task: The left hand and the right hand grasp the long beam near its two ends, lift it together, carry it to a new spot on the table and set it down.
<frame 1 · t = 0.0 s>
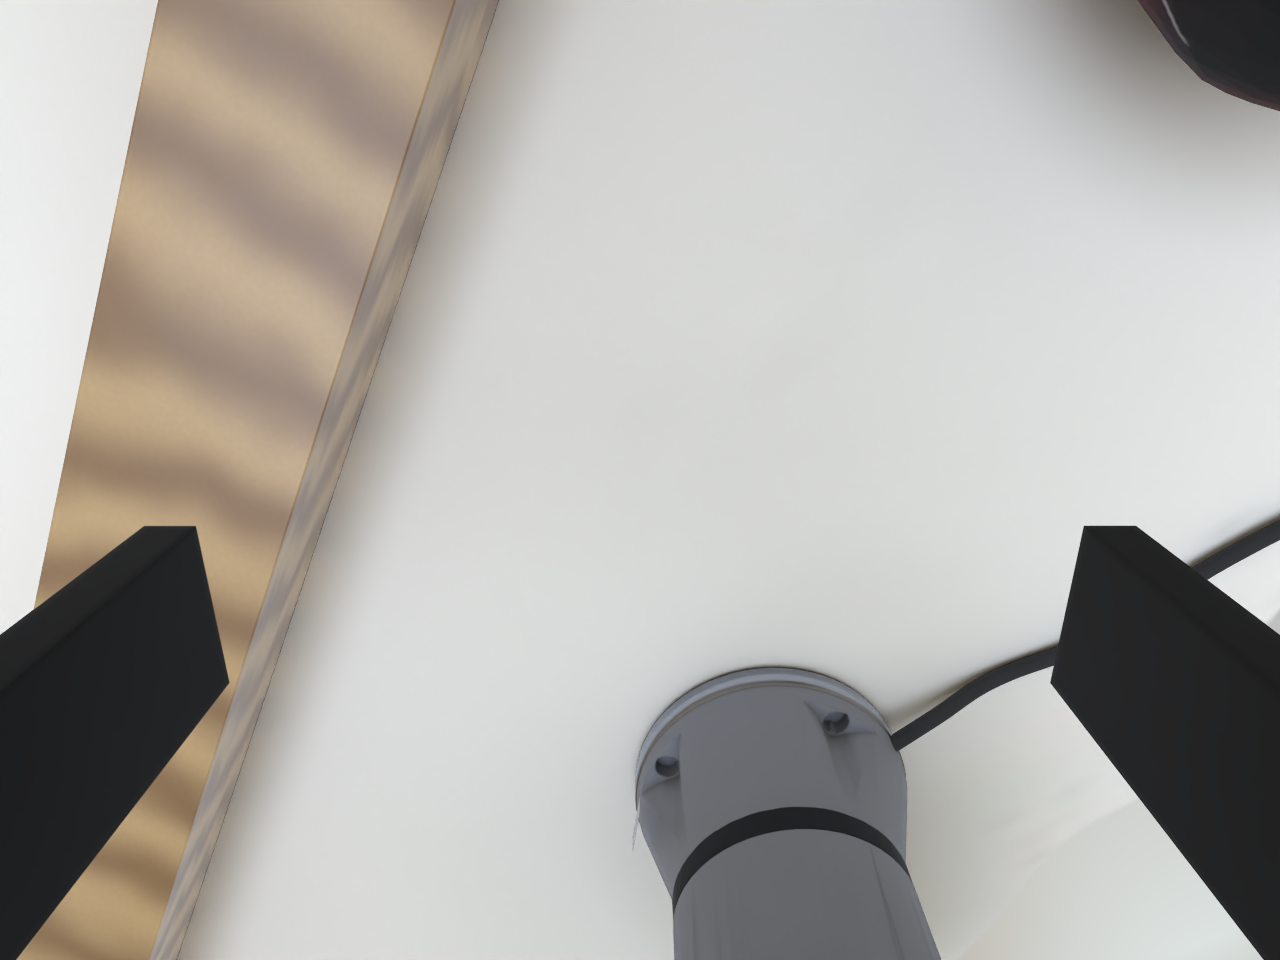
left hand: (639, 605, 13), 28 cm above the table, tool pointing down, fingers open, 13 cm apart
long beam: (225, 521, 43), on the table
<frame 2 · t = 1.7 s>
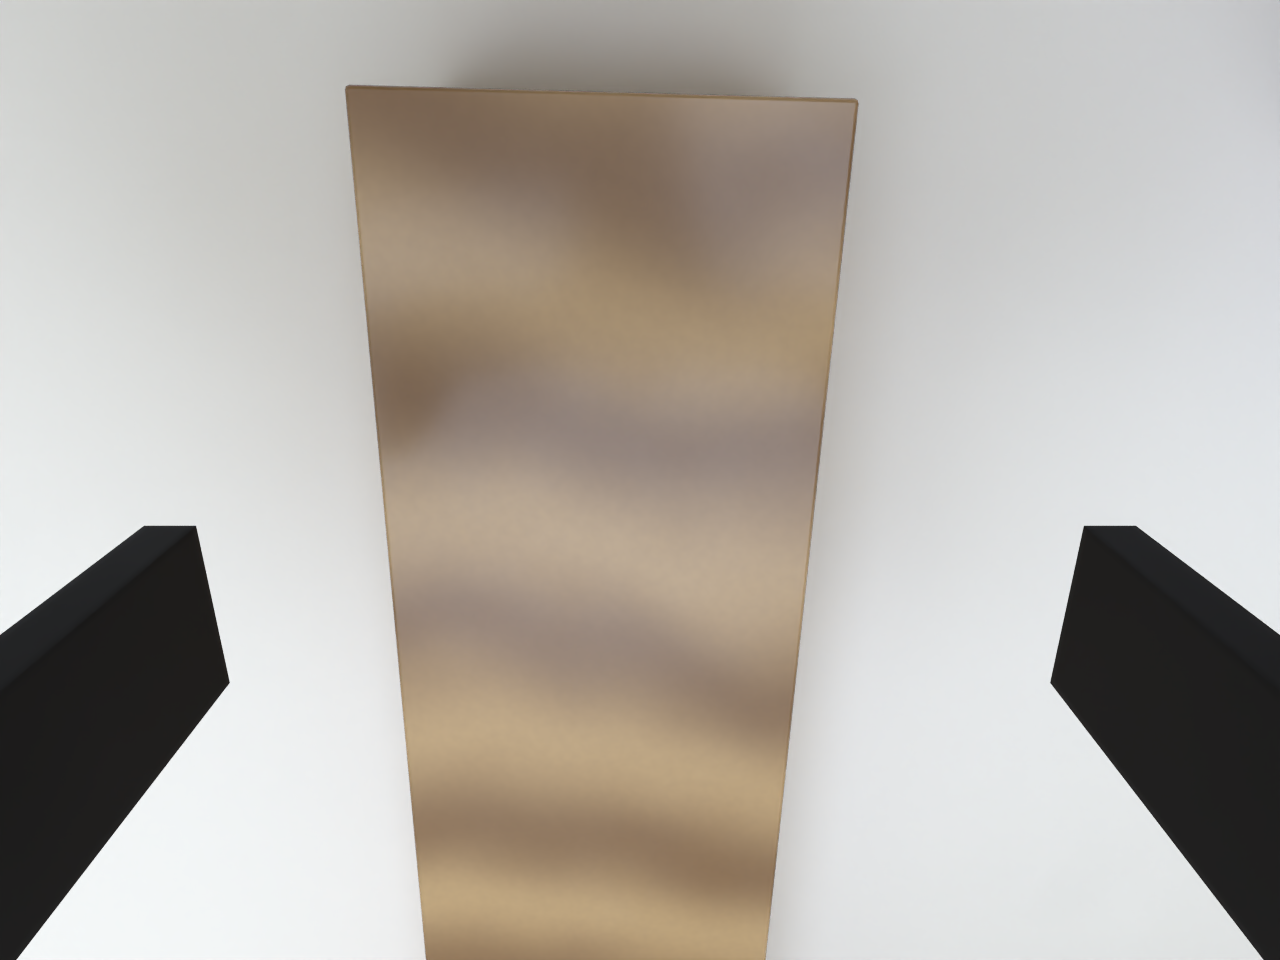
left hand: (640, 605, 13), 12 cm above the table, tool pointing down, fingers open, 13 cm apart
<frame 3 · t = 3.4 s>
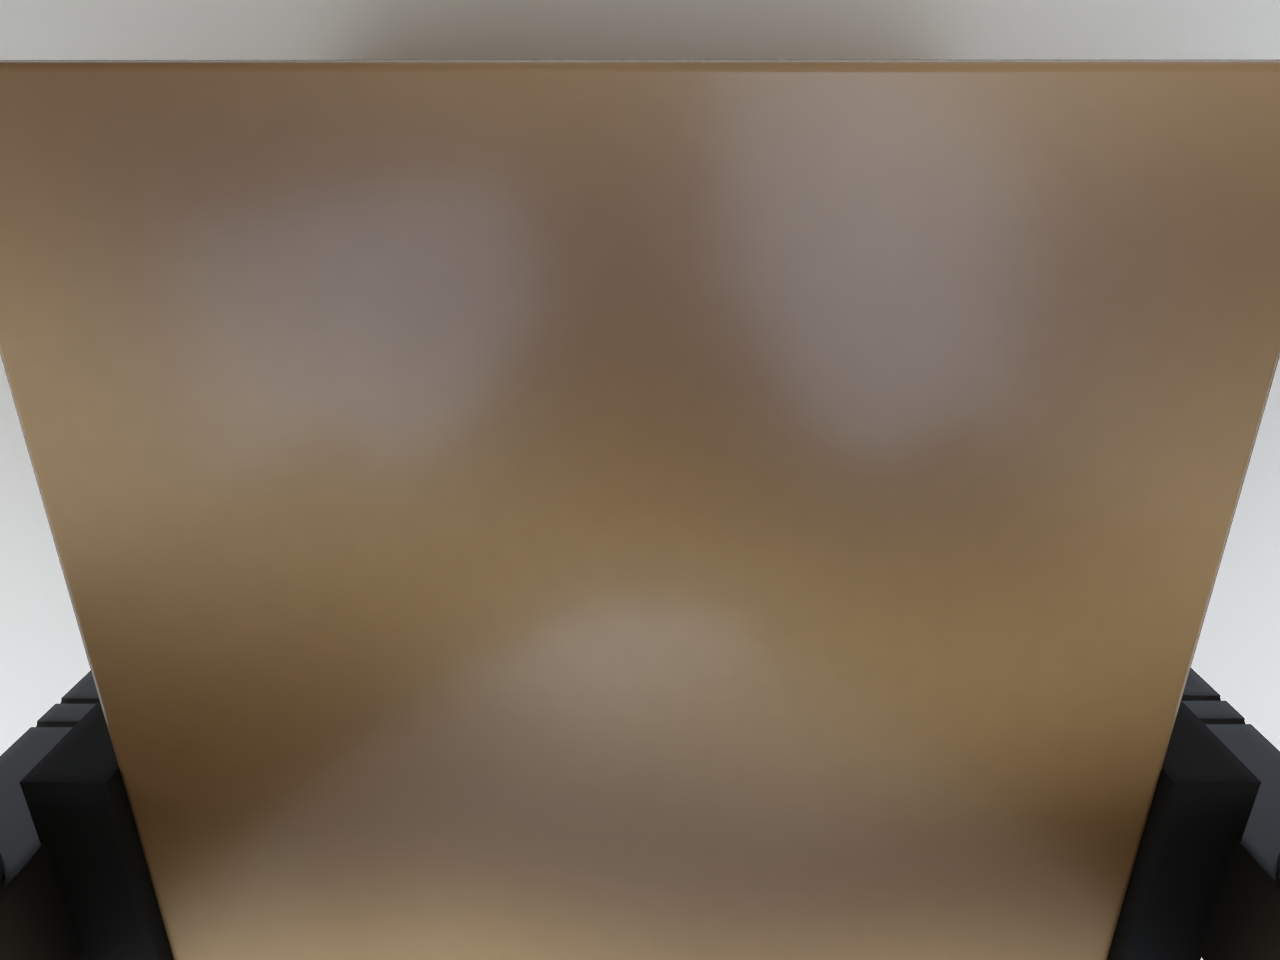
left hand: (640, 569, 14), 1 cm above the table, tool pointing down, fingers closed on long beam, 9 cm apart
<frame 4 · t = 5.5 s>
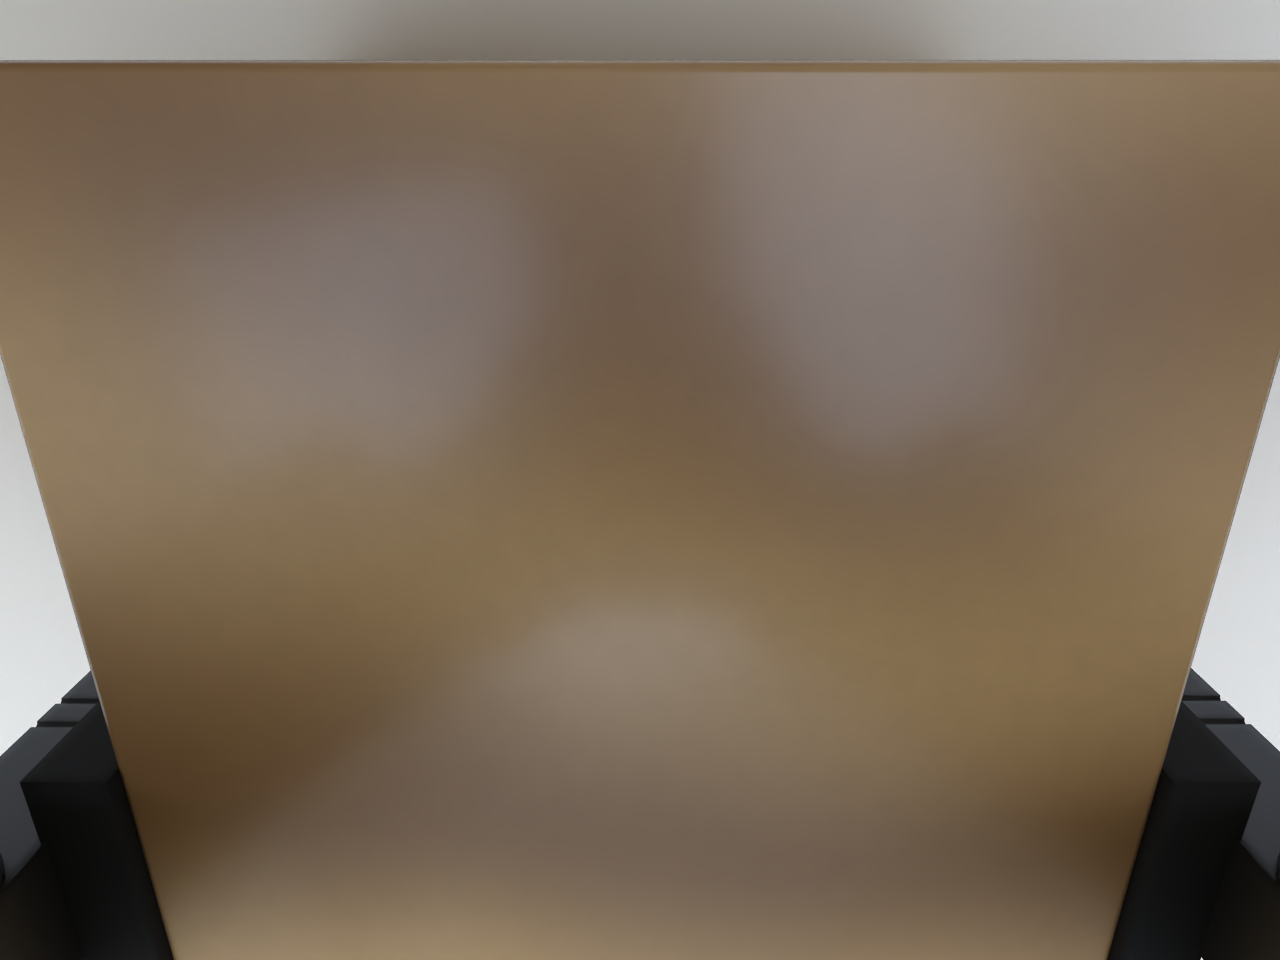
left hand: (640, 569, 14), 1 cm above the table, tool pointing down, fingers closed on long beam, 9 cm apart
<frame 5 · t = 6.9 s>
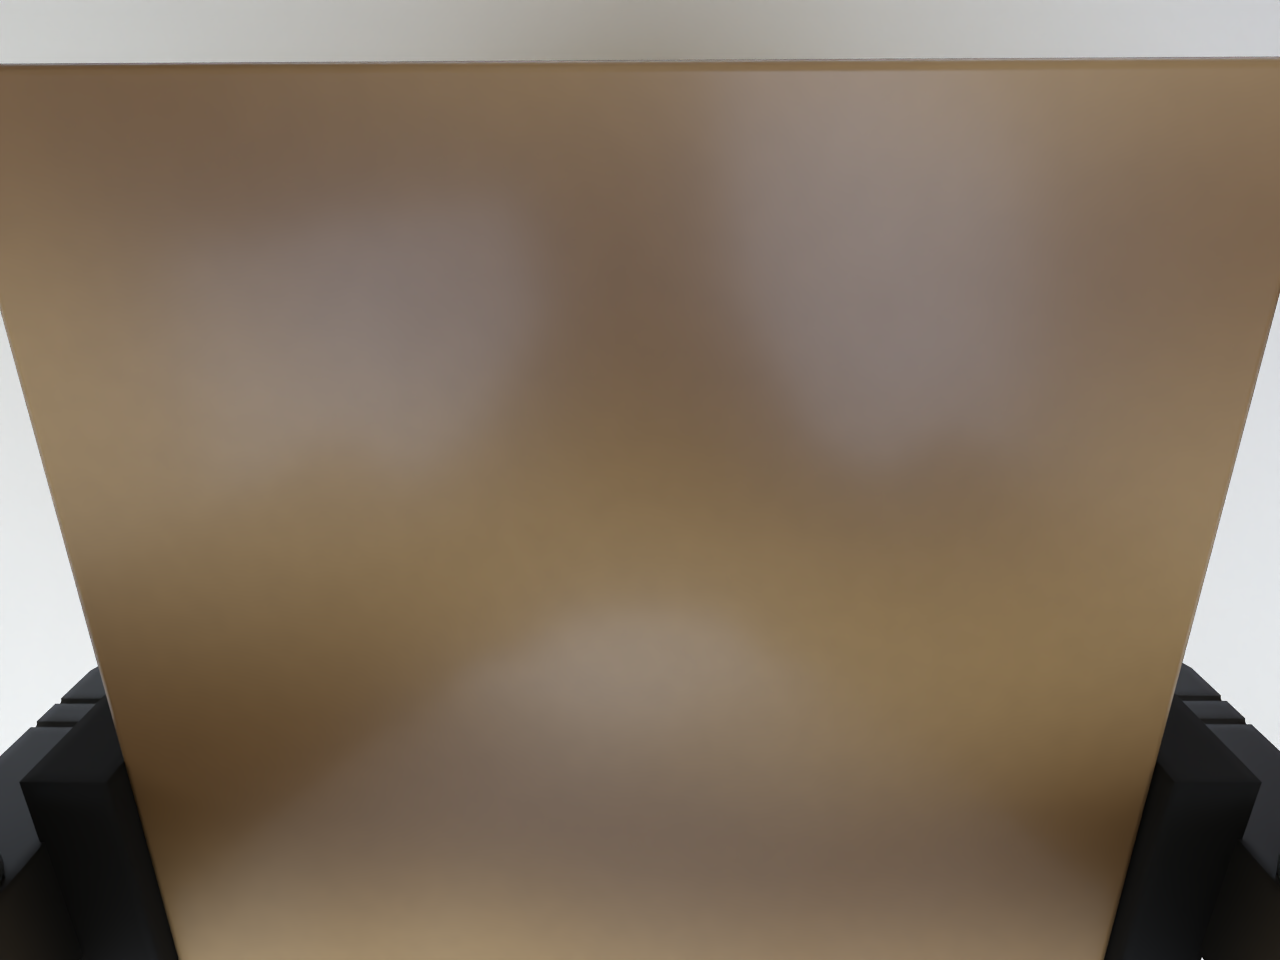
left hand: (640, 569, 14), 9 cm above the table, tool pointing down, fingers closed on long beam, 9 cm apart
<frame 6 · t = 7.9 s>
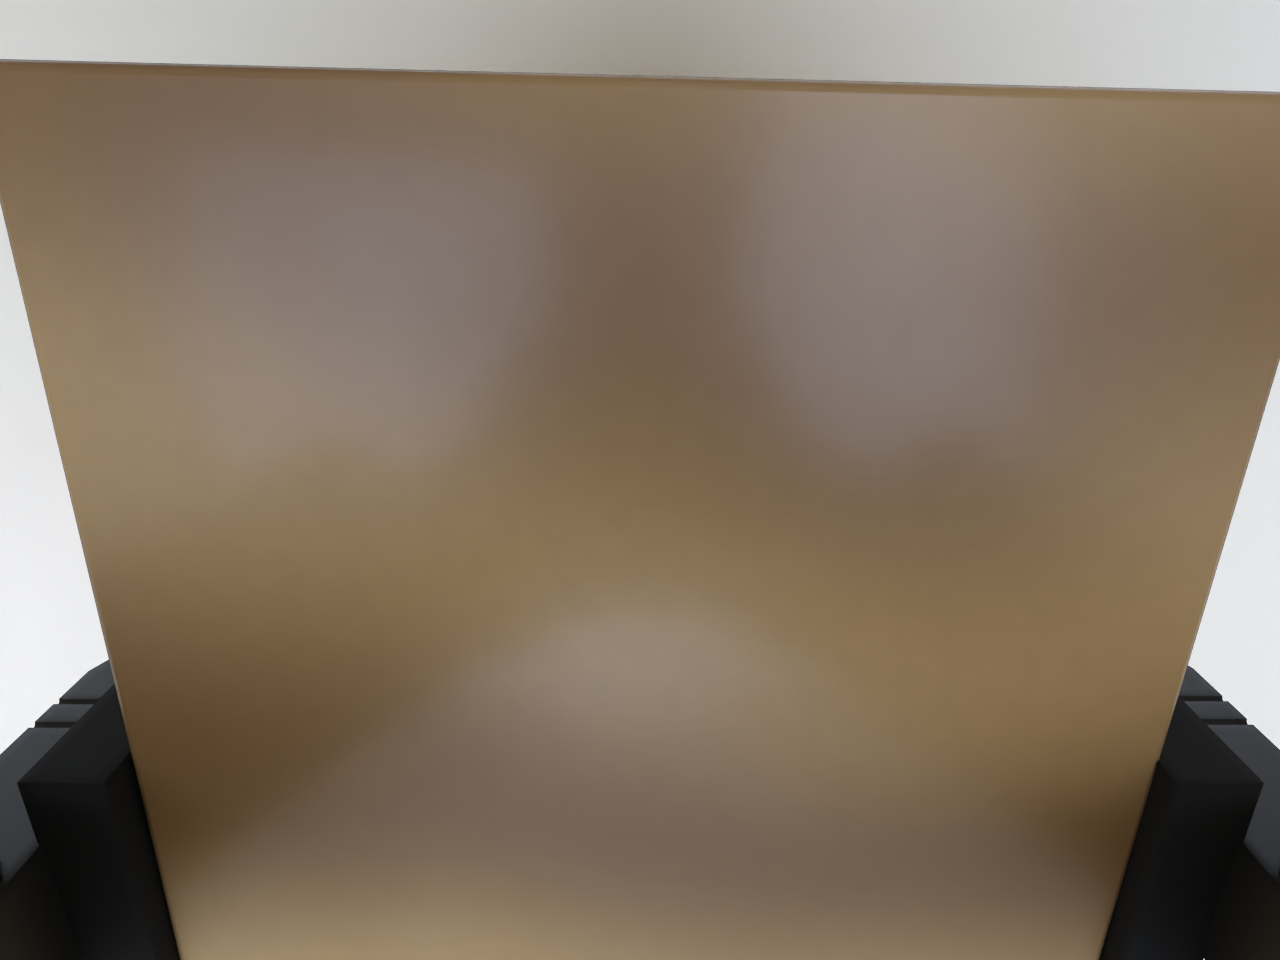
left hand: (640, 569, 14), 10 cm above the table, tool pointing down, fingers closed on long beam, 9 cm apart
when the left hand's fingers open (2 cm above the table, at t = 10.7 s): long beam stays where it is, on the table.
when the right hand's fingers open (2 cm above the table, at t = 10.7 s): long beam stays where it is, on the table.
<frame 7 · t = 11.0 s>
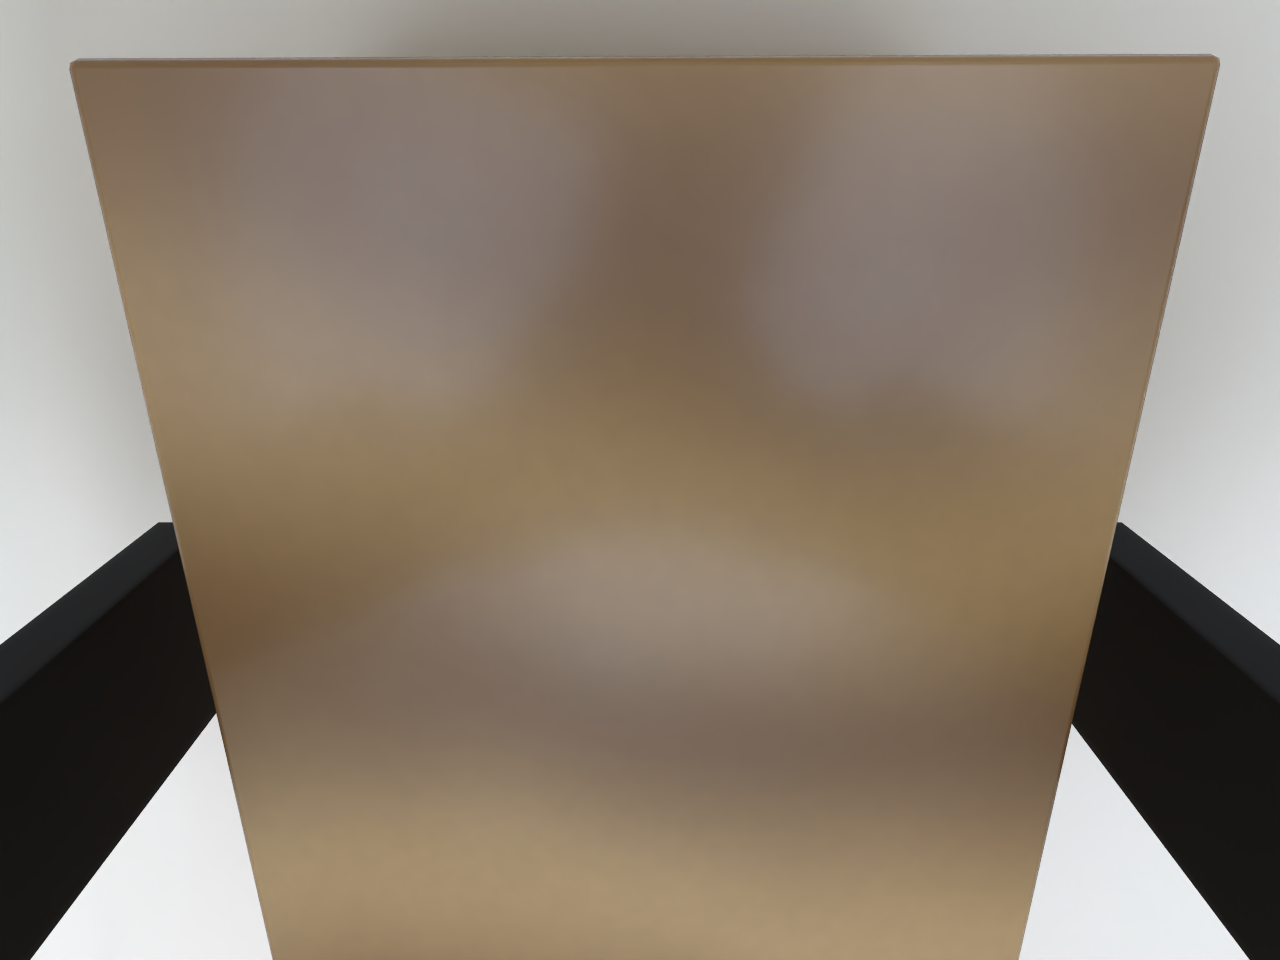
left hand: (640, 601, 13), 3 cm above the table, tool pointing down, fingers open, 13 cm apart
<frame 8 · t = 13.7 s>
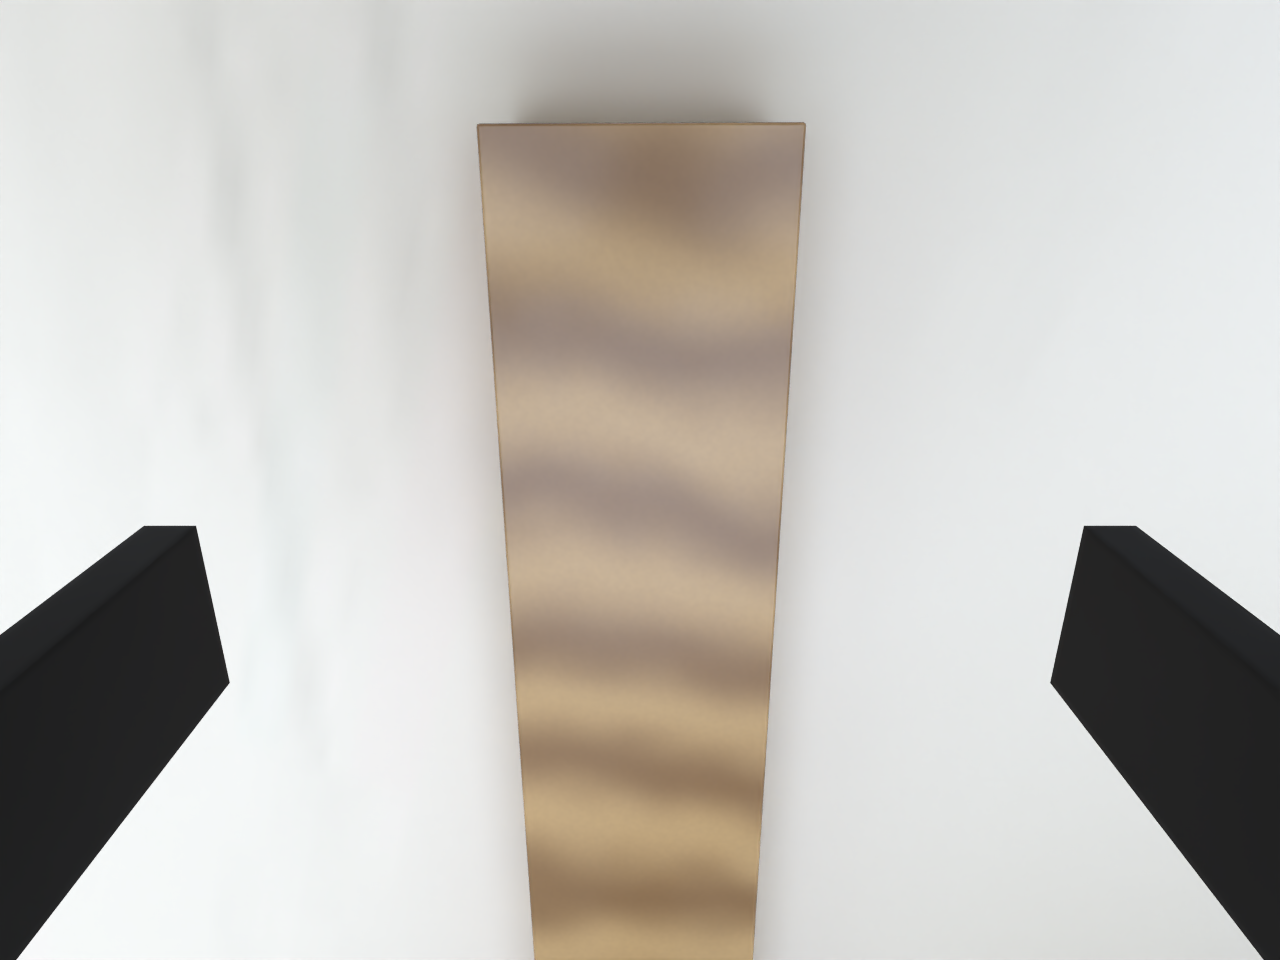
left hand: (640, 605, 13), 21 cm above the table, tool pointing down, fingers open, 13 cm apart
long beam: (643, 943, 44), on the table
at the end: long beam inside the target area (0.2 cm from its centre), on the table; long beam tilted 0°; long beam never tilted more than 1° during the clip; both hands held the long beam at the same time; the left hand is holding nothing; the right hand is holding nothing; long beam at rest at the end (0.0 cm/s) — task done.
